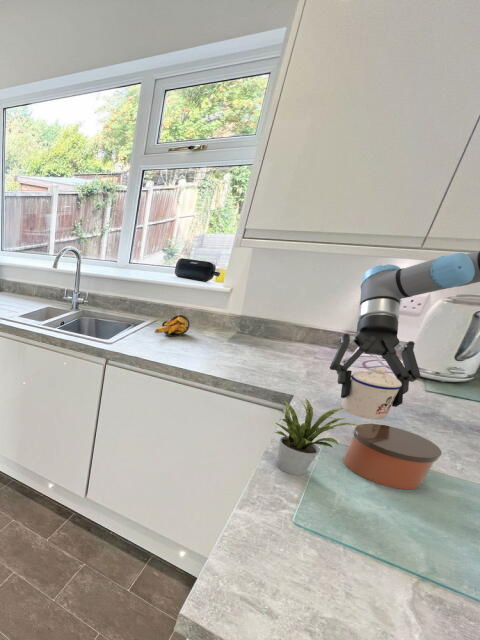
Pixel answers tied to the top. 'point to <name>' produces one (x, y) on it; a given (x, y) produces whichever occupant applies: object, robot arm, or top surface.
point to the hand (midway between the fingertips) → (370, 400)
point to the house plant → (302, 439)
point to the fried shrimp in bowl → (175, 326)
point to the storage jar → (390, 456)
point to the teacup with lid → (371, 394)
